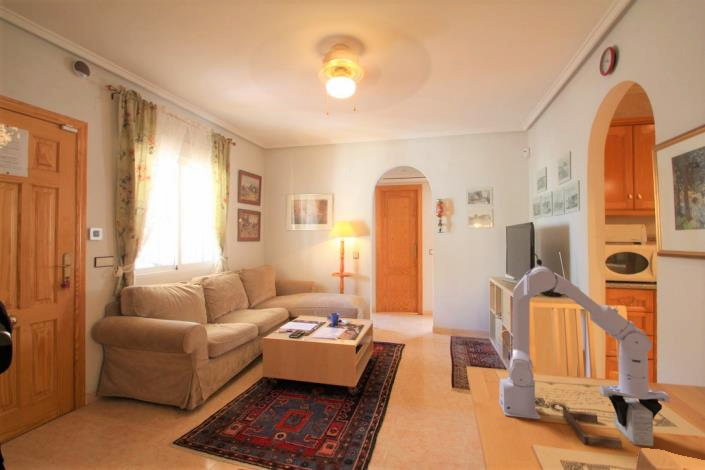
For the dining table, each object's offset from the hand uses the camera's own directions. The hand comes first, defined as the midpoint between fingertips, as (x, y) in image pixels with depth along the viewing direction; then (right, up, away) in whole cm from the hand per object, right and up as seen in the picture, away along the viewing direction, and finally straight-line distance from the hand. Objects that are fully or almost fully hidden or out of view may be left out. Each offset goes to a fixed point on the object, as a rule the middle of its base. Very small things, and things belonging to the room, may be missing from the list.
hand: (633, 425), depth 82 cm
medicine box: (0, -3, 0) cm, 3 cm away
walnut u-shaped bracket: (-10, -3, +2) cm, 10 cm away
